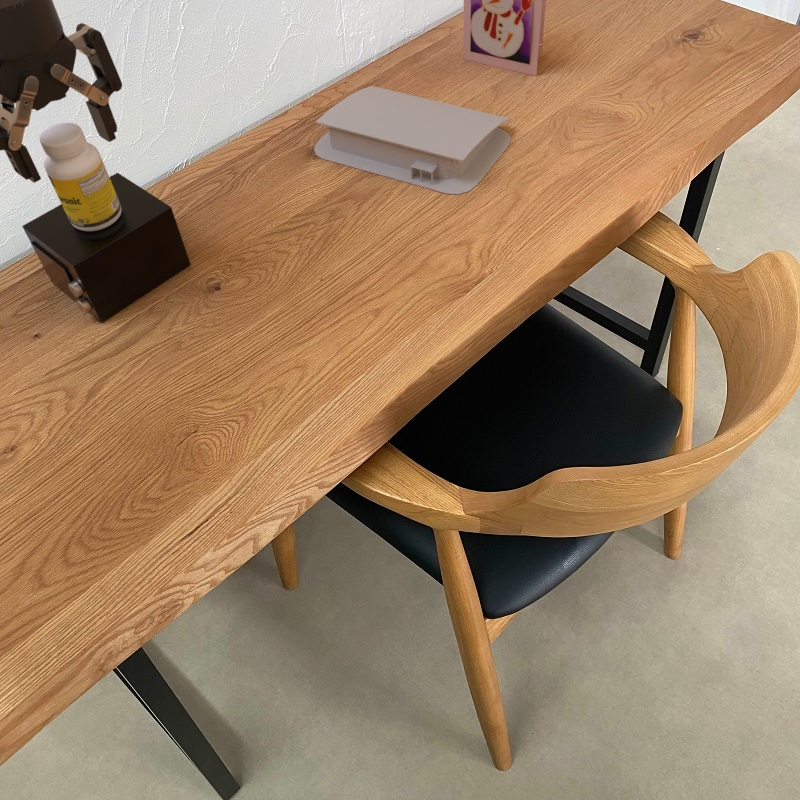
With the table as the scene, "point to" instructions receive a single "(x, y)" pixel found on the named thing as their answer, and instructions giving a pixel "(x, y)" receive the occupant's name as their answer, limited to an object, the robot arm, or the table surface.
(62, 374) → the table surface
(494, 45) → the greeting card
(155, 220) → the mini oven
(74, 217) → the supplement bottle
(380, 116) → the miniature building model
